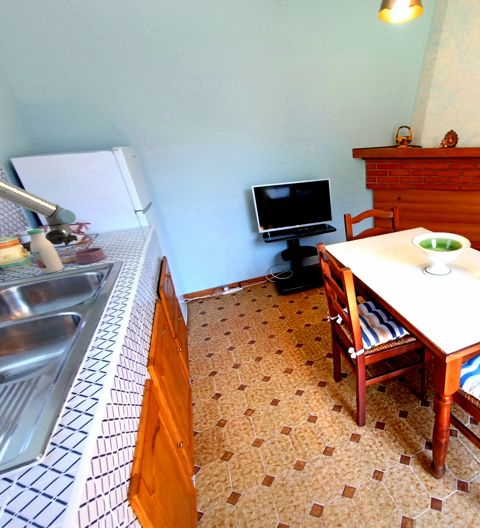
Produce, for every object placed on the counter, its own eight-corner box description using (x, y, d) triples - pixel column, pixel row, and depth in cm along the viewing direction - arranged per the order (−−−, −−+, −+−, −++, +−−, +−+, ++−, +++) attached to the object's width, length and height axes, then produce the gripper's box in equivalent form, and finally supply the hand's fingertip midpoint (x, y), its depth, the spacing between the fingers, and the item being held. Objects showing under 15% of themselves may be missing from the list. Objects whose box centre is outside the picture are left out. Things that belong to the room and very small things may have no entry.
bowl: (81, 266, 145) (77, 256, 143) (73, 262, 152) (69, 253, 150) (109, 258, 154) (105, 249, 152) (101, 255, 160) (97, 246, 158)
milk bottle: (63, 266, 147) (45, 226, 139) (64, 270, 141) (45, 229, 134) (42, 271, 142) (22, 230, 134) (41, 275, 136) (20, 233, 129)
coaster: (62, 265, 148) (61, 264, 148) (55, 261, 154) (55, 260, 154) (89, 258, 156) (88, 257, 156) (82, 255, 162) (81, 254, 162)
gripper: (89, 238, 167) (83, 247, 150) (28, 248, 154) (14, 259, 138) (84, 225, 164) (77, 233, 147) (21, 234, 152) (6, 243, 135)
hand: (46, 245), depth 142 cm, fingers open, 13 cm apart
